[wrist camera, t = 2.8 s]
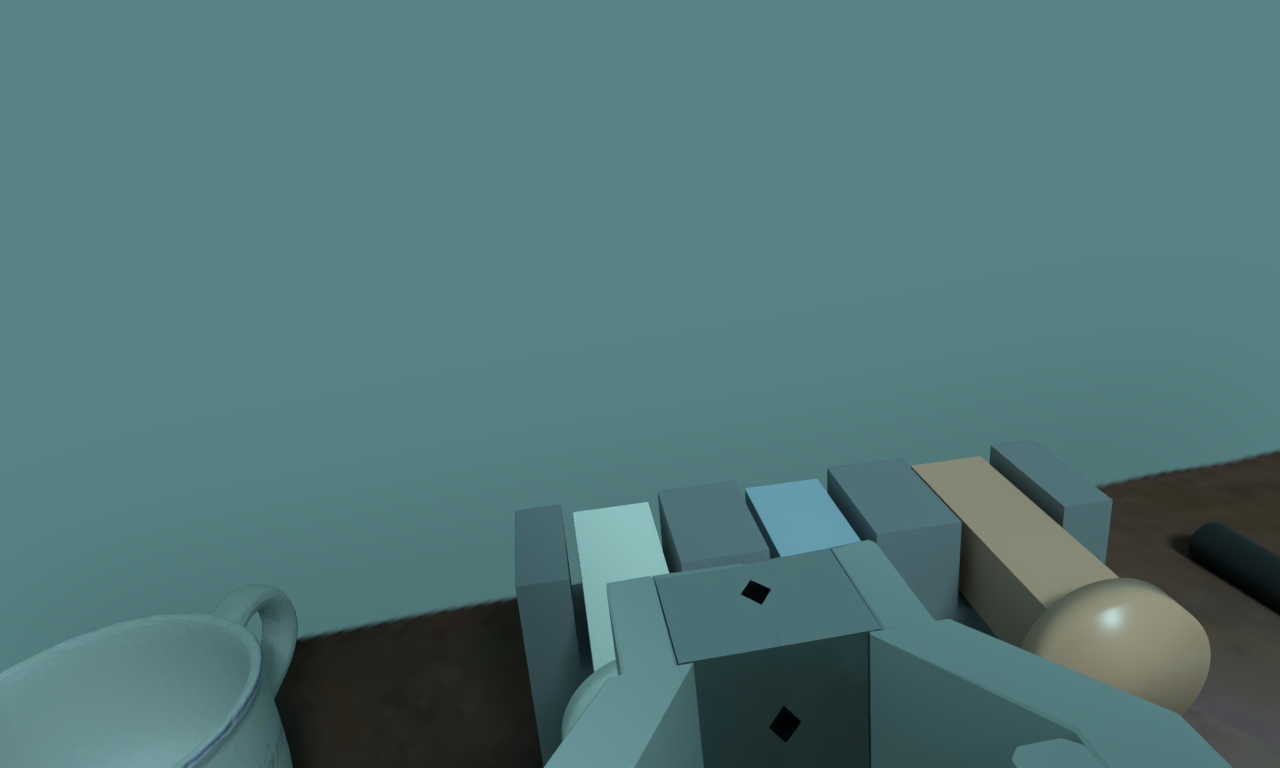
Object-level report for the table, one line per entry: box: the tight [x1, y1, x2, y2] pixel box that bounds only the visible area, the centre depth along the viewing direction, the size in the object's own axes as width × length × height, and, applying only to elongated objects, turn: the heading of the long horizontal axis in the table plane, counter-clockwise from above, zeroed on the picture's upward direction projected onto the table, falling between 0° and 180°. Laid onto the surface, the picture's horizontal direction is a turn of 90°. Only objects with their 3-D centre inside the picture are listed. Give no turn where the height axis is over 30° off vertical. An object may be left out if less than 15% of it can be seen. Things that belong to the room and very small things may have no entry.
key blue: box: [745, 479, 861, 559], centre depth 29 cm, size 5×11×5 cm, turn 8°
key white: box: [561, 502, 669, 741], centre depth 29 cm, size 5×11×5 cm, turn 8°
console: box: [515, 440, 1112, 767], centre depth 34 cm, size 20×5×10 cm, turn 98°
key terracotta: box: [911, 456, 1211, 716], centre depth 30 cm, size 5×11×5 cm, turn 8°
